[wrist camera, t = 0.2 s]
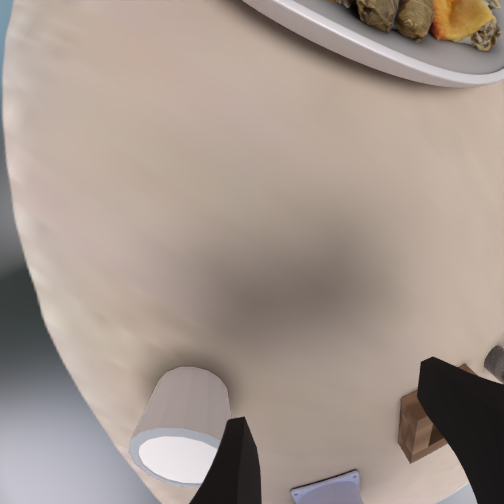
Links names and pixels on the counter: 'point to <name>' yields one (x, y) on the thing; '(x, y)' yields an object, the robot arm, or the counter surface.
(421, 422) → the socket block
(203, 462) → the shot glass
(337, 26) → the bowl
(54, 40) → the counter surface
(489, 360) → the pin
